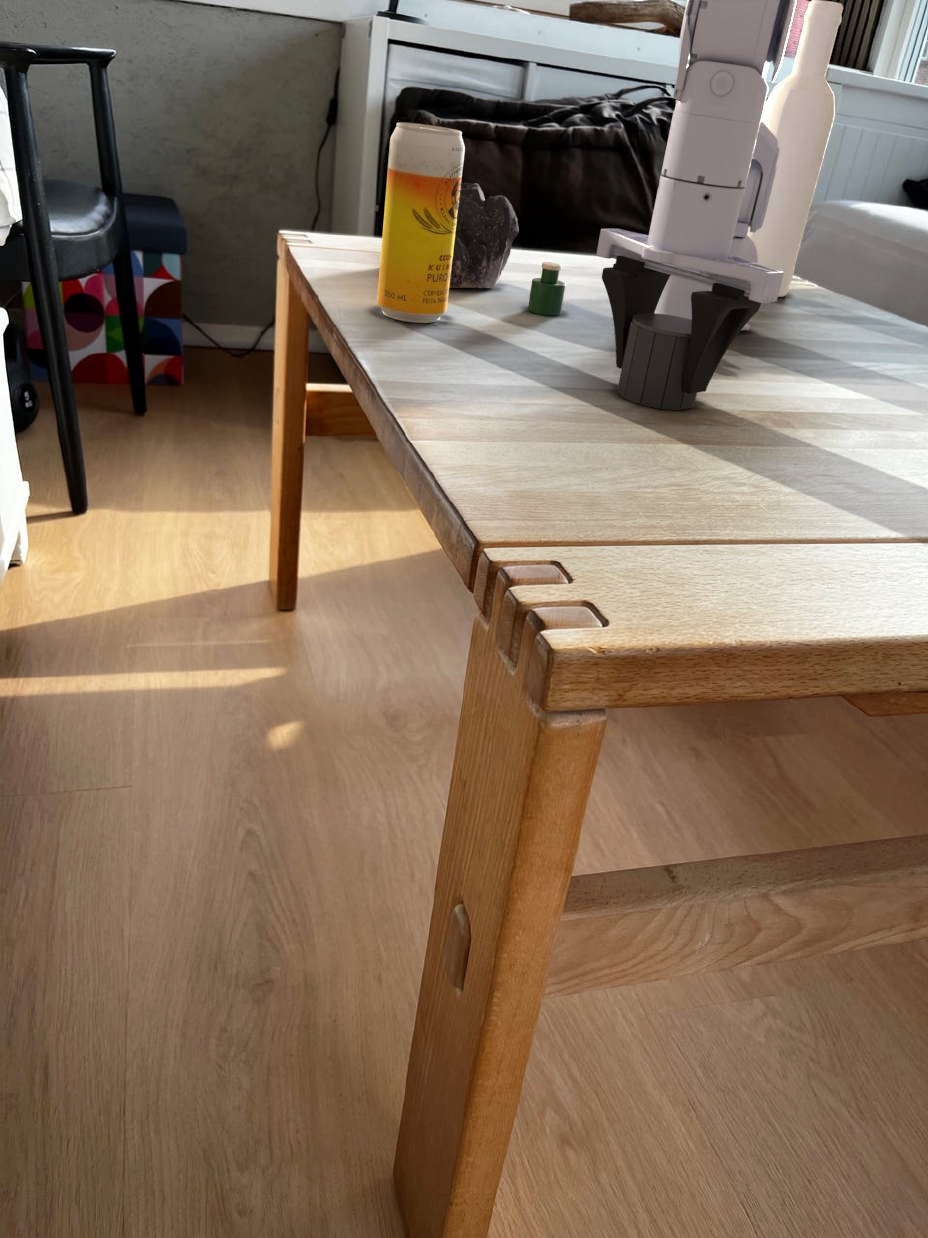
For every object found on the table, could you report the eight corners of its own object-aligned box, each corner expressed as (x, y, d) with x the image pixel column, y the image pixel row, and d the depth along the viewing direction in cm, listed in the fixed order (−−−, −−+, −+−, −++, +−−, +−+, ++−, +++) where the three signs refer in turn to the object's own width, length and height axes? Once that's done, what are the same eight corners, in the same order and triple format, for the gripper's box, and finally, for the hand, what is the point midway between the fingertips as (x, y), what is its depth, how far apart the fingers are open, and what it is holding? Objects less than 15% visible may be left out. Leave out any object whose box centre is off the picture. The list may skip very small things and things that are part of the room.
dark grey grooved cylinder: (649, 382, 80) (665, 310, 77) (709, 404, 76) (727, 330, 74) (602, 390, 76) (616, 315, 74) (662, 413, 73) (679, 336, 70)
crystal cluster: (355, 281, 102) (367, 177, 97) (402, 252, 113) (415, 156, 108) (481, 317, 100) (500, 212, 95) (516, 283, 111) (536, 187, 106)
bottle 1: (543, 306, 100) (551, 259, 98) (567, 314, 98) (575, 267, 96) (520, 308, 98) (527, 260, 96) (544, 316, 96) (552, 268, 94)
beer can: (437, 328, 87) (458, 134, 79) (367, 316, 87) (382, 122, 80) (451, 314, 92) (473, 131, 85) (386, 303, 93) (402, 120, 85)
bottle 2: (796, 293, 125) (873, 9, 110) (775, 300, 119) (854, 1, 104) (734, 279, 128) (801, 2, 114) (711, 285, 122) (779, -6, 108)
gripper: (584, 161, 71) (552, 356, 78) (760, 200, 62) (707, 415, 69) (647, 165, 75) (611, 348, 82) (820, 201, 67) (765, 403, 73)
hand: (659, 378), depth 76 cm, fingers closed on dark grey grooved cylinder, 5 cm apart
